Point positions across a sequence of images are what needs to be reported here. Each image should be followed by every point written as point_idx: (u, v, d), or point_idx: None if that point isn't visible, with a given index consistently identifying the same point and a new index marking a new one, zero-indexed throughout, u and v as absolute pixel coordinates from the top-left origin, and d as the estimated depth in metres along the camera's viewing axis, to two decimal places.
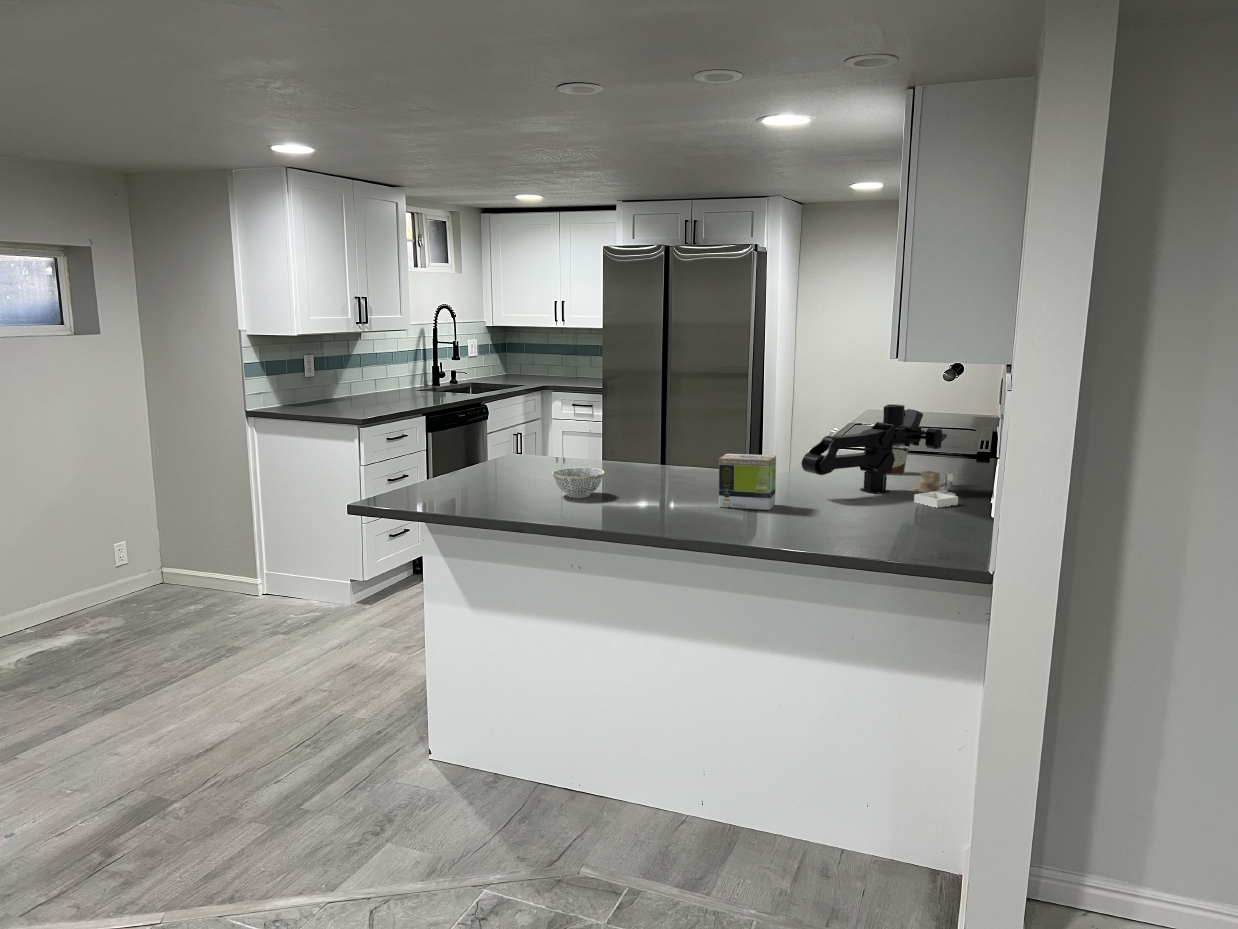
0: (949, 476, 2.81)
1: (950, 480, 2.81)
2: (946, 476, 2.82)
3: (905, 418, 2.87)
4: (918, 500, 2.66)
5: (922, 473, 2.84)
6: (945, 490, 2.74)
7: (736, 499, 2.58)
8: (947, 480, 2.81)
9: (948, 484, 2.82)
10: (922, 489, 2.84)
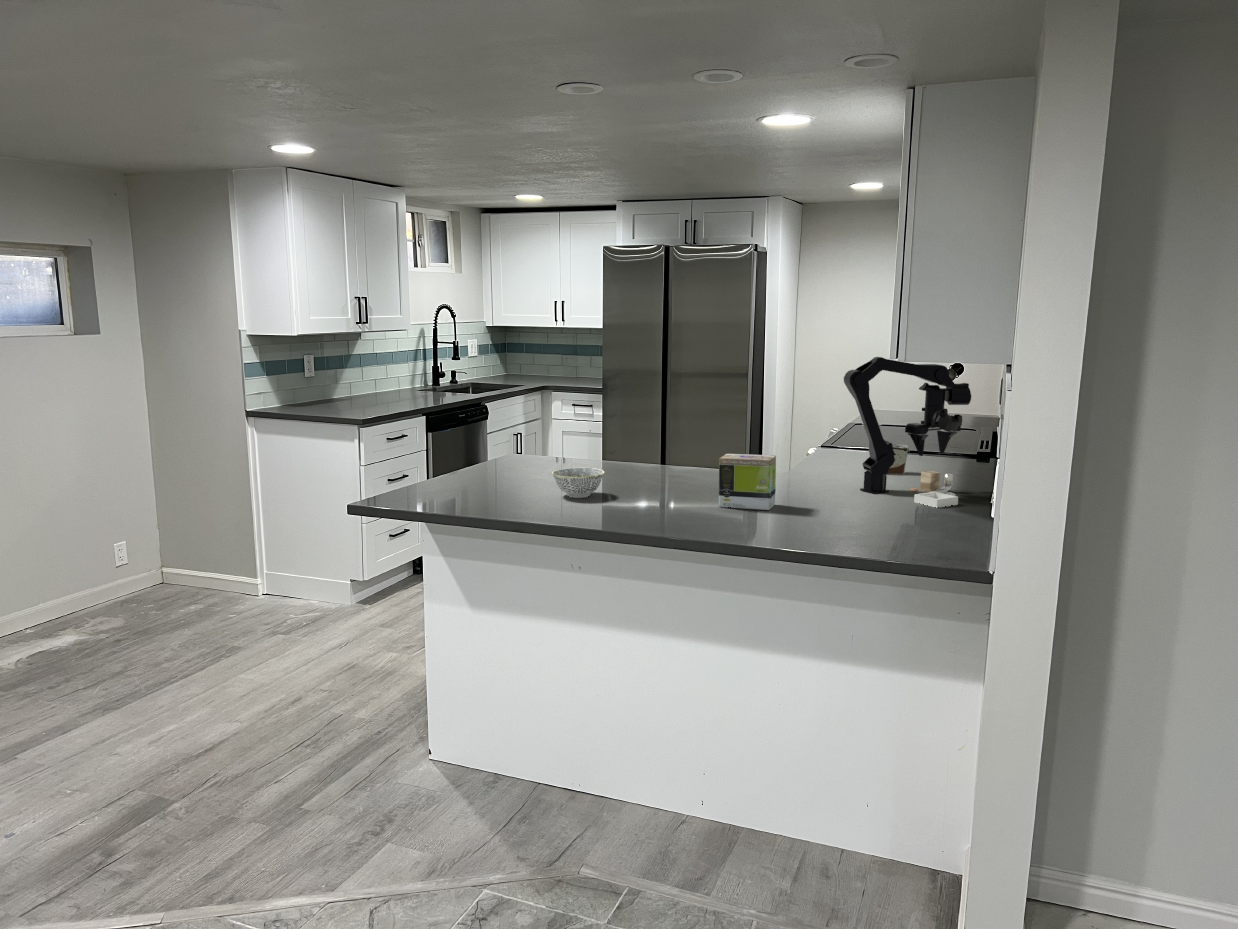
0: (949, 476, 2.81)
1: (950, 480, 2.81)
2: (946, 476, 2.82)
3: (951, 417, 2.76)
4: (918, 500, 2.66)
5: (922, 473, 2.84)
6: (945, 490, 2.74)
7: (736, 499, 2.58)
8: (947, 480, 2.81)
9: (948, 484, 2.82)
10: (922, 489, 2.84)
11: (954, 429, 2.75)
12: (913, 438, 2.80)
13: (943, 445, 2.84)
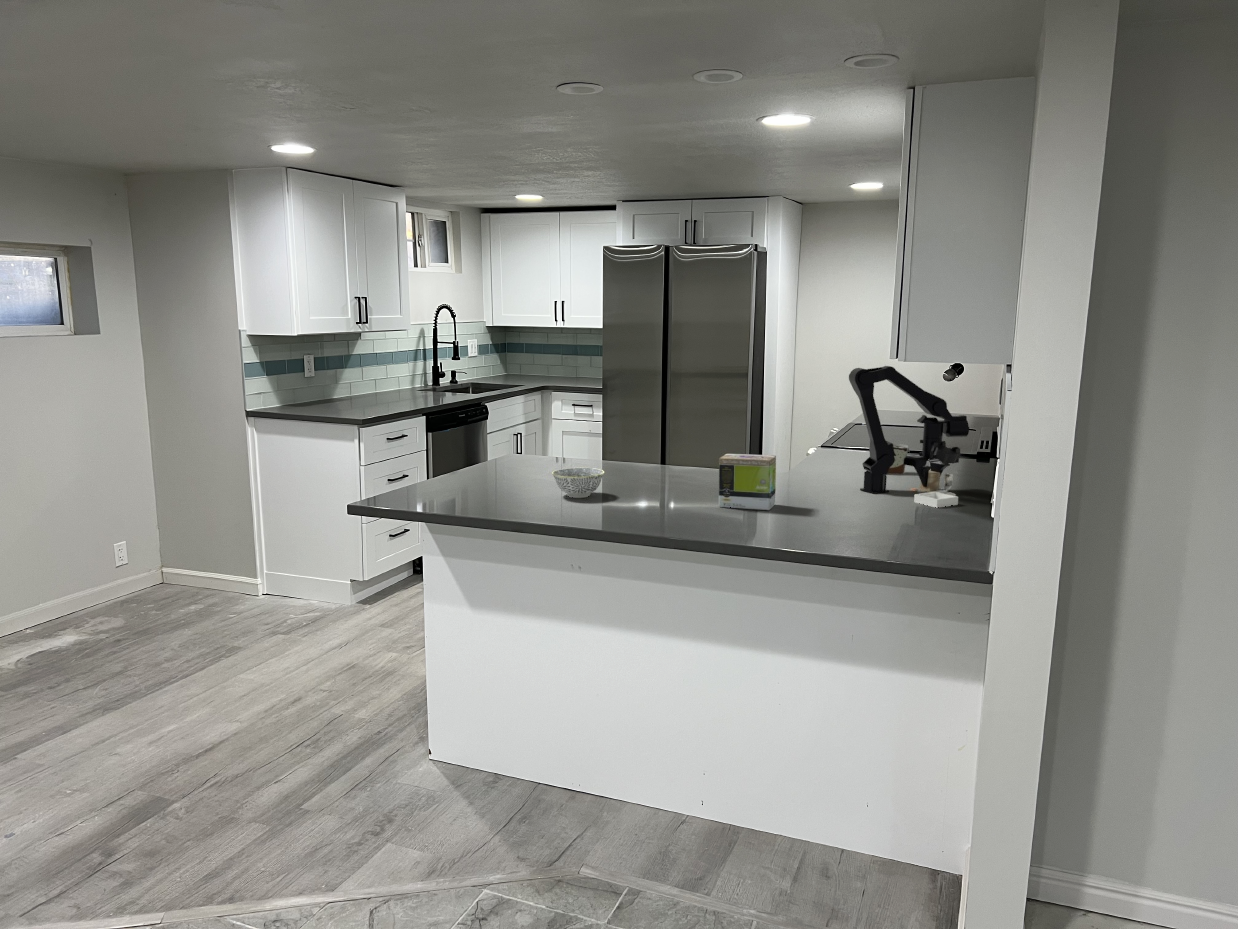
0: (949, 476, 2.81)
1: (950, 480, 2.81)
2: (946, 476, 2.82)
3: (949, 449, 2.78)
4: (918, 500, 2.66)
5: None
6: (945, 490, 2.74)
7: (736, 499, 2.58)
8: (947, 480, 2.81)
9: (948, 484, 2.82)
10: (922, 489, 2.84)
11: (952, 462, 2.76)
12: (917, 469, 2.83)
13: None
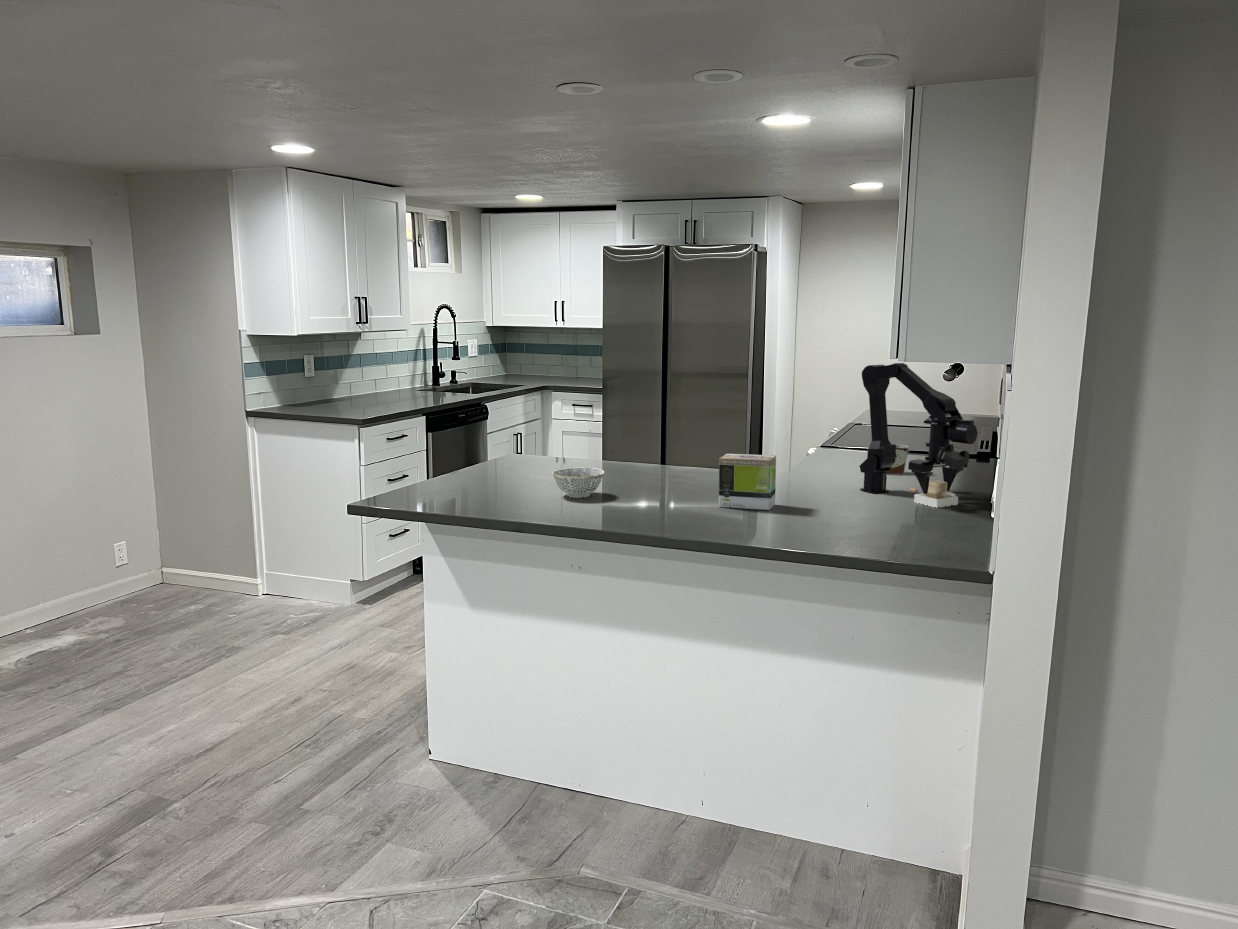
0: None
1: None
2: None
3: (957, 453, 2.59)
4: (918, 500, 2.66)
5: None
6: None
7: (736, 499, 2.58)
8: None
9: None
10: None
11: (961, 466, 2.58)
12: (917, 475, 2.63)
13: (948, 482, 2.67)
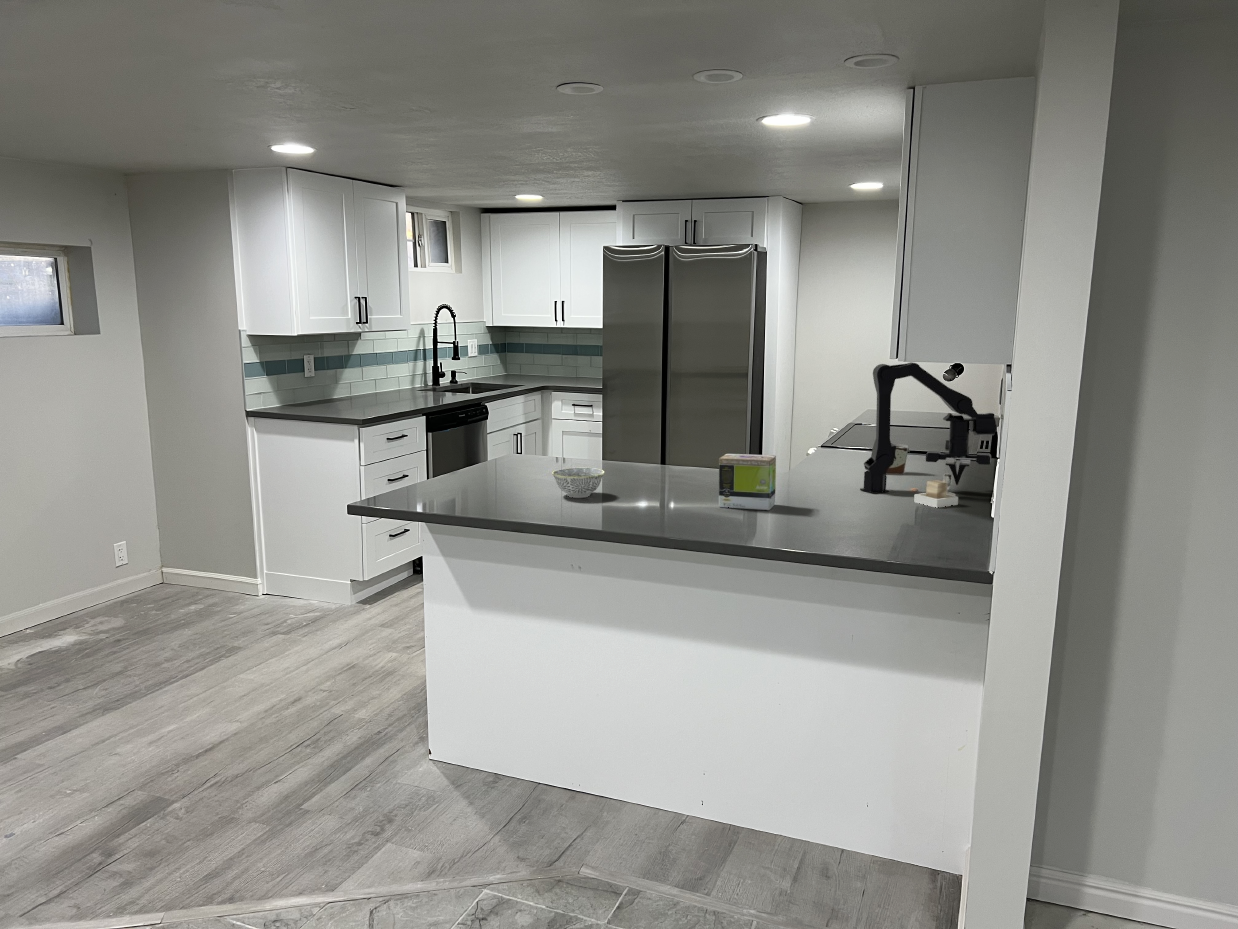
0: (948, 476, 2.81)
1: (949, 480, 2.81)
2: (945, 476, 2.82)
3: None
4: (918, 500, 2.66)
5: (928, 482, 2.65)
6: None
7: (736, 500, 2.58)
8: (946, 480, 2.82)
9: (947, 484, 2.82)
10: None
11: None
12: (963, 469, 2.78)
13: None
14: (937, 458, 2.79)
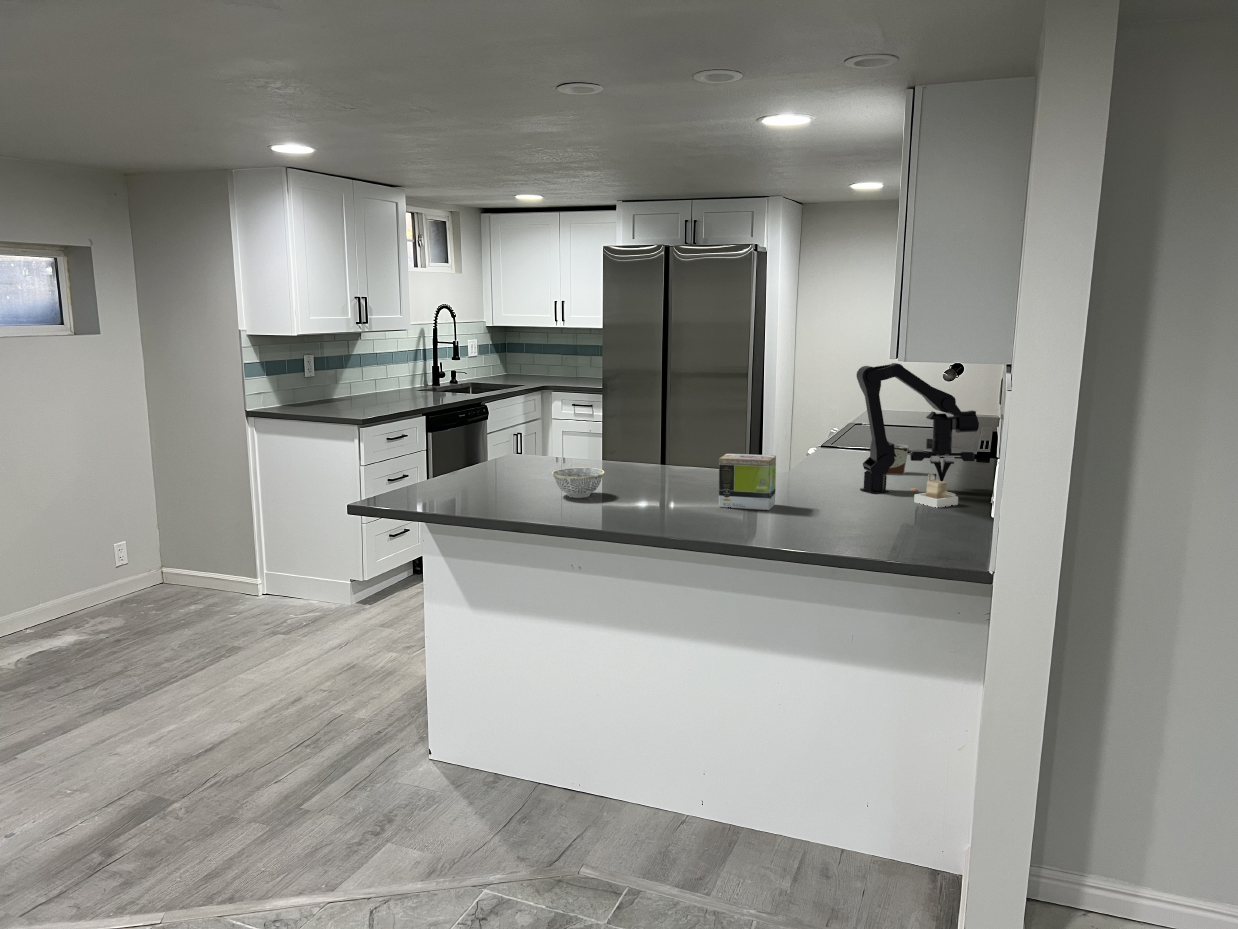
0: (934, 475, 2.82)
1: (935, 479, 2.83)
2: (931, 475, 2.82)
3: None
4: (918, 500, 2.66)
5: (928, 482, 2.65)
6: None
7: (736, 500, 2.58)
8: (933, 480, 2.83)
9: None
10: None
11: None
12: None
13: None
14: (923, 457, 2.81)
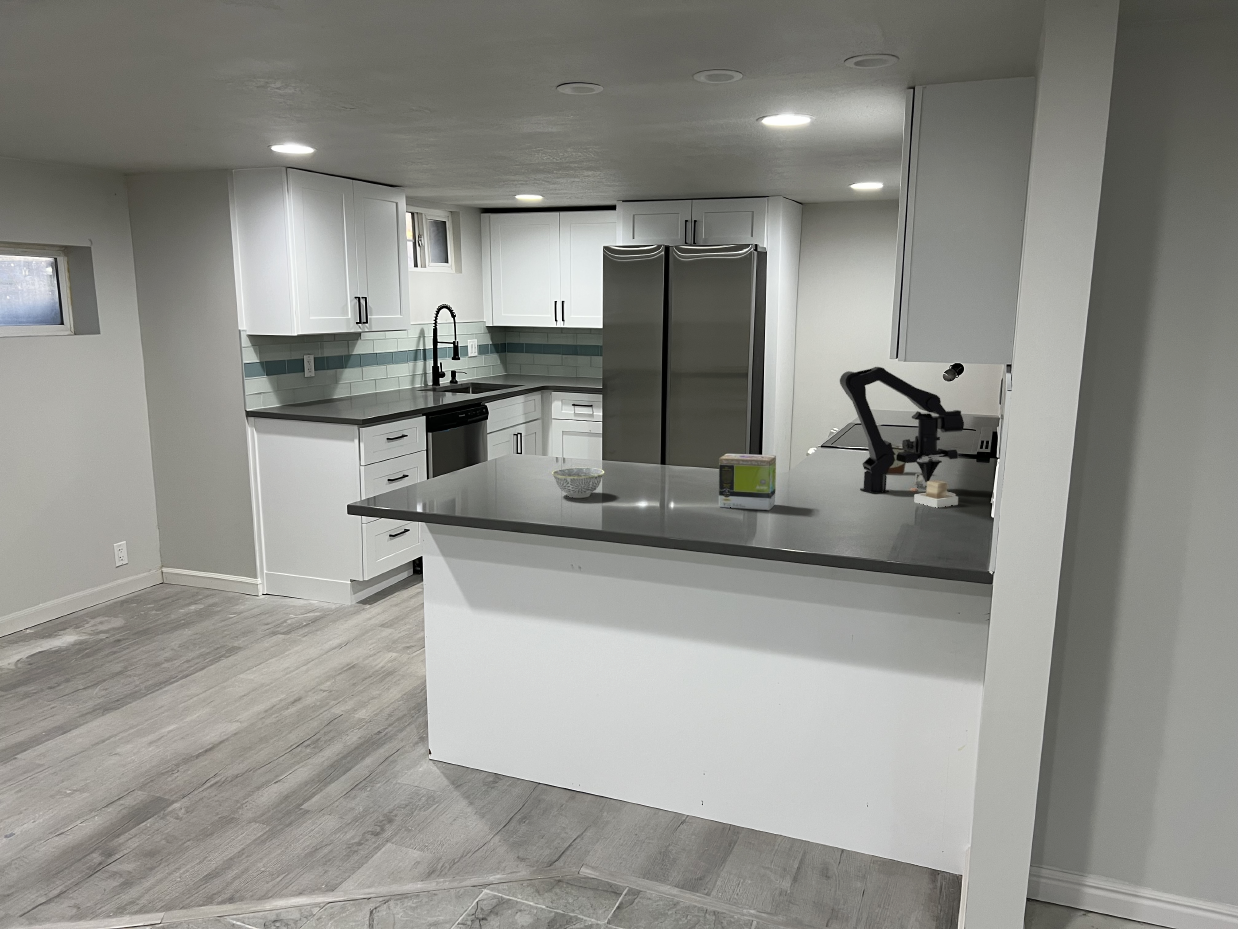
0: (923, 476, 2.82)
1: None
2: (921, 476, 2.81)
3: None
4: (918, 500, 2.66)
5: (928, 482, 2.65)
6: None
7: (736, 499, 2.58)
8: (922, 480, 2.82)
9: (922, 484, 2.82)
10: None
11: None
12: None
13: None
14: (916, 458, 2.78)
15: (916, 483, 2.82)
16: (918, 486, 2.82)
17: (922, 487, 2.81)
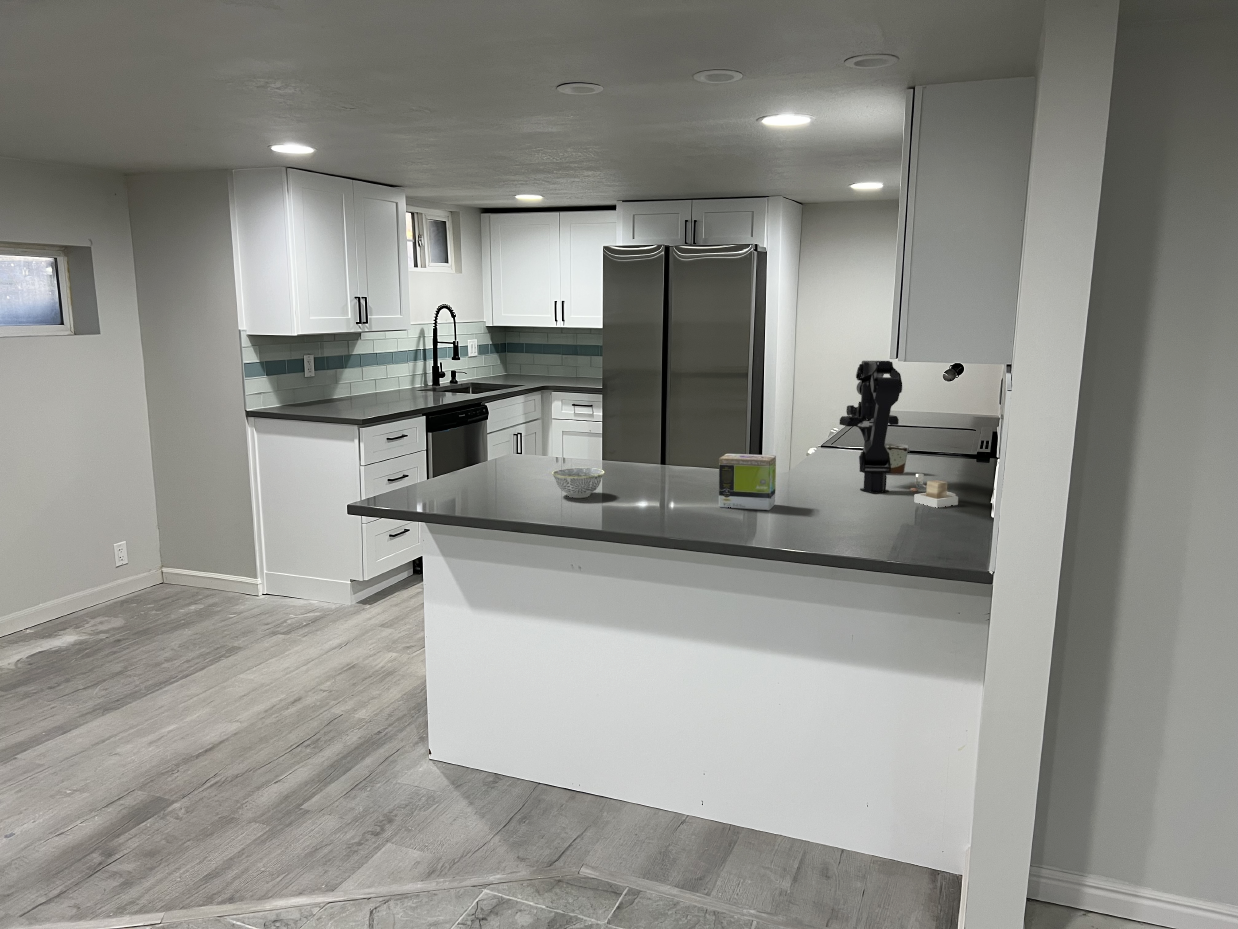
0: (923, 476, 2.82)
1: None
2: (921, 476, 2.81)
3: None
4: (918, 500, 2.66)
5: (928, 482, 2.65)
6: None
7: (736, 500, 2.58)
8: (922, 480, 2.82)
9: (922, 484, 2.82)
10: None
11: None
12: None
13: None
14: (858, 422, 2.90)
15: (916, 483, 2.82)
16: (918, 486, 2.82)
17: (922, 487, 2.81)
